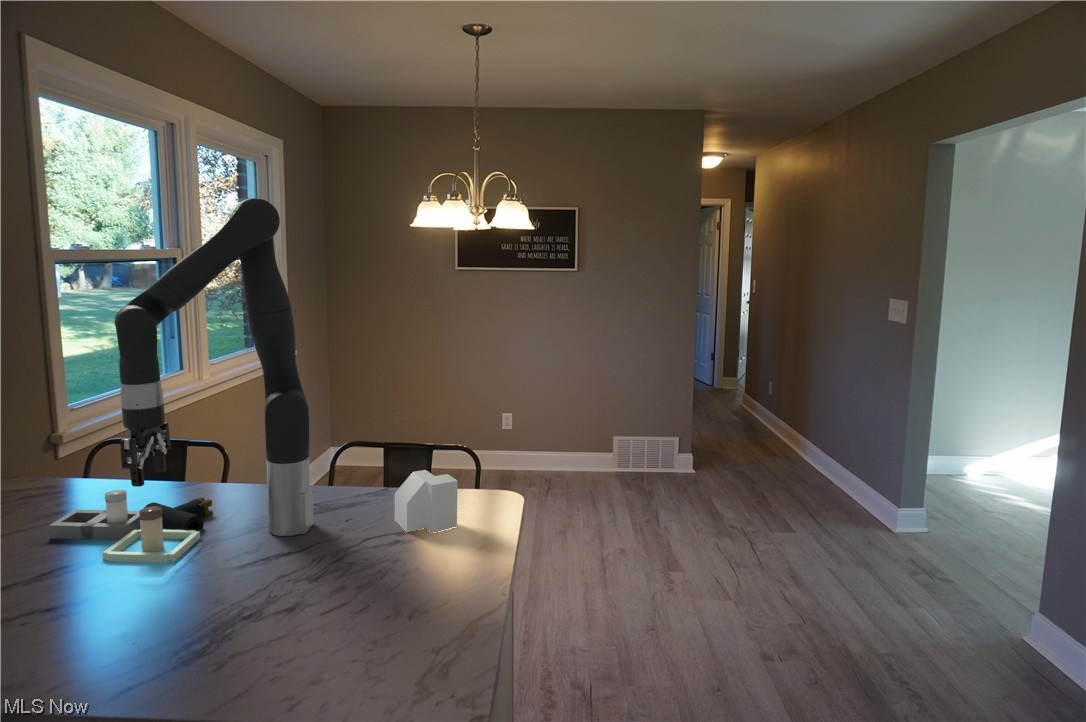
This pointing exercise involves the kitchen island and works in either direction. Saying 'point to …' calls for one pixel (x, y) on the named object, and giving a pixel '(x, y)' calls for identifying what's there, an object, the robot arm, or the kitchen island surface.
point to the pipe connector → (185, 514)
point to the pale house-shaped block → (427, 502)
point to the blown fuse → (151, 529)
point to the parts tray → (116, 555)
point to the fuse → (116, 506)
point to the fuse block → (92, 526)
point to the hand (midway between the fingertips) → (149, 478)
